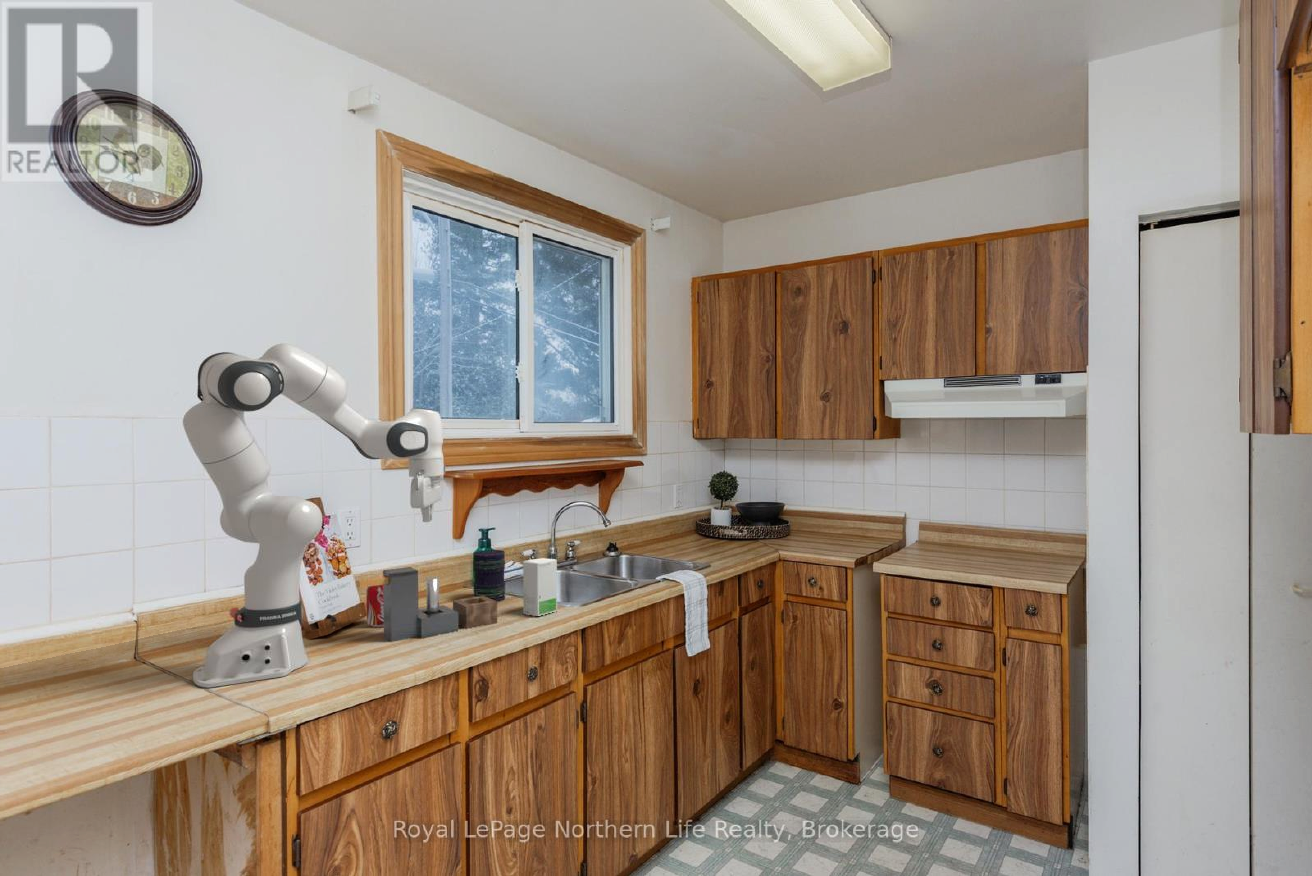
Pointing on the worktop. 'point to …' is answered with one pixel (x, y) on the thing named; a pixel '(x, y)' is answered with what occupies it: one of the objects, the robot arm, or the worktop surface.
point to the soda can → (375, 606)
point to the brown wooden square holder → (475, 611)
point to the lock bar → (372, 582)
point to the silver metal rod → (432, 595)
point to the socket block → (411, 609)
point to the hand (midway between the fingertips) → (427, 521)
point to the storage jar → (489, 574)
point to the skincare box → (539, 586)
